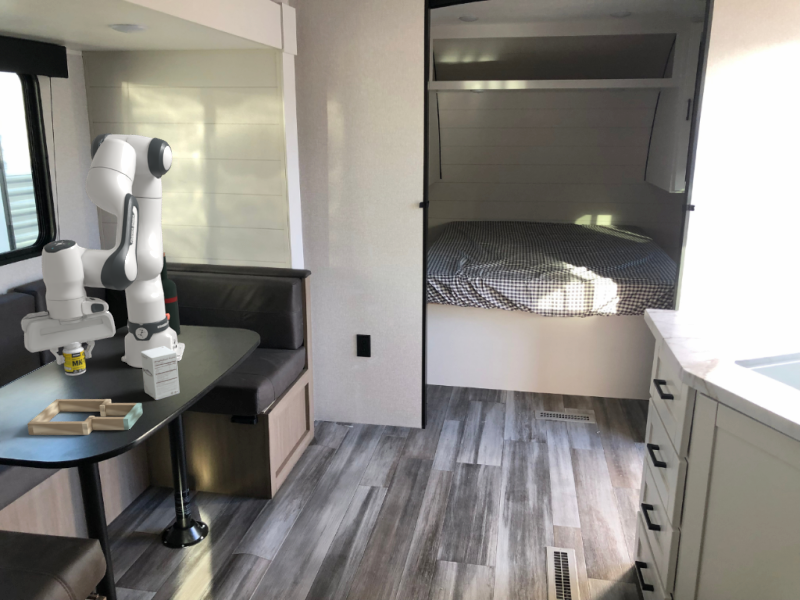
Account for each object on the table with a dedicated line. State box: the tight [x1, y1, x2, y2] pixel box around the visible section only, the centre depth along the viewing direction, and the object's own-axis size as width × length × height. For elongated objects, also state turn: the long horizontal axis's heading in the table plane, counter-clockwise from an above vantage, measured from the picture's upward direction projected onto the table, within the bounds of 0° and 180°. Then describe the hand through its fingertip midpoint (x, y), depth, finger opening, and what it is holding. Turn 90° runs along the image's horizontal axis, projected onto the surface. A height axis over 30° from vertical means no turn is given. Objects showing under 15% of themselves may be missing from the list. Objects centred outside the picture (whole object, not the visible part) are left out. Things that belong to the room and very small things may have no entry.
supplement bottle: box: [62, 342, 87, 376], centre depth 160 cm, size 5×5×8 cm
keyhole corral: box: [27, 398, 143, 436], centre depth 164 cm, size 14×23×3 cm, turn 92°
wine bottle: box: [160, 251, 181, 336], centre depth 229 cm, size 8×10×30 cm
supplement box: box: [141, 346, 181, 401], centre depth 180 cm, size 7×7×13 cm
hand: (74, 360), depth 160 cm, fingers closed on supplement bottle, 5 cm apart
